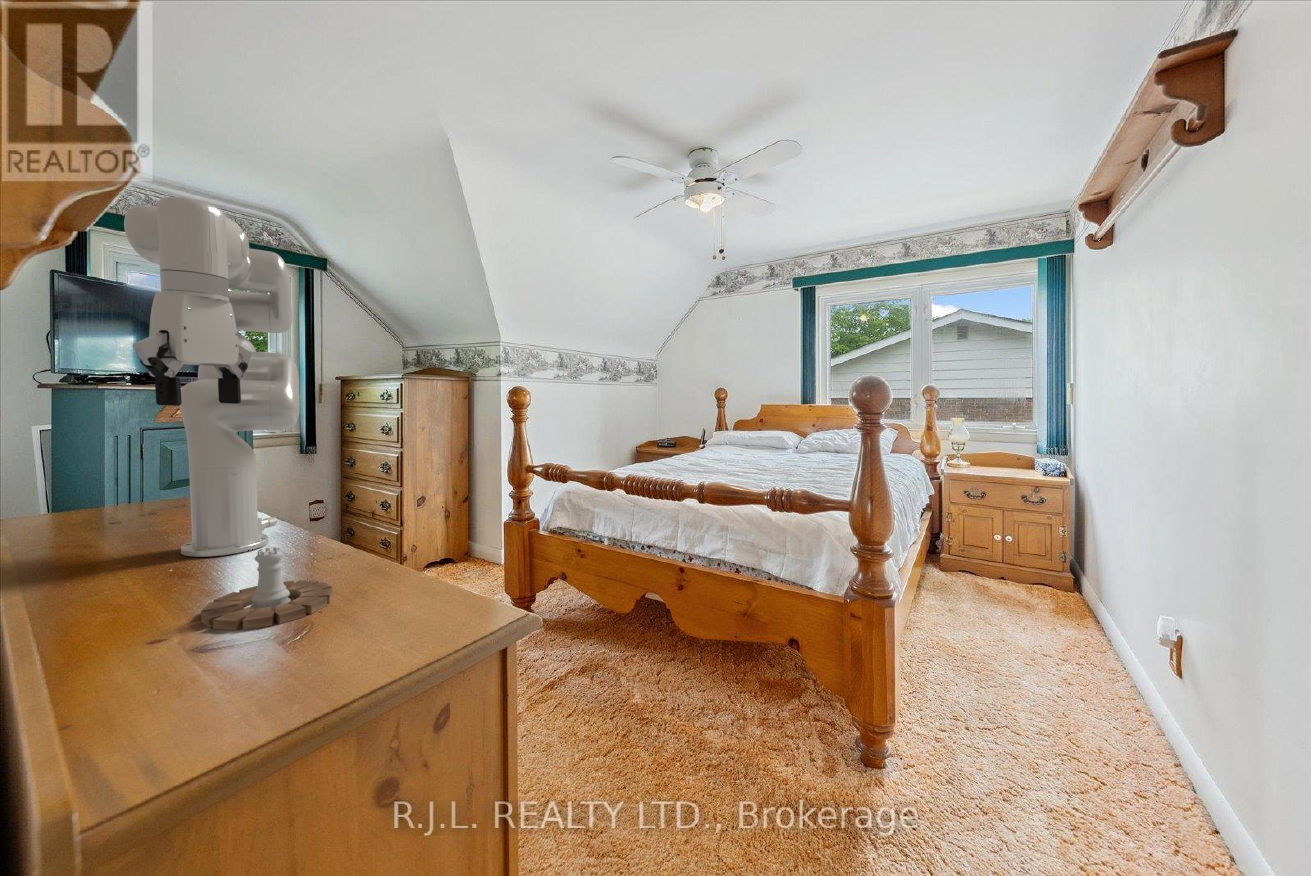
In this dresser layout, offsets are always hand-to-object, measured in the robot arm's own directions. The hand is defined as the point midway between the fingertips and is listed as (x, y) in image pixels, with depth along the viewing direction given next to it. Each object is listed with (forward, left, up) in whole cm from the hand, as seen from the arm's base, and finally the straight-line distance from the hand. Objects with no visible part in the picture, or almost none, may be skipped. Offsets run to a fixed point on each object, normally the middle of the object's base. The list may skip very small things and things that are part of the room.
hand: (201, 404), depth 77 cm
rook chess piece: (+8, +17, -28) cm, 34 cm away
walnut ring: (+8, +17, -27) cm, 33 cm away
